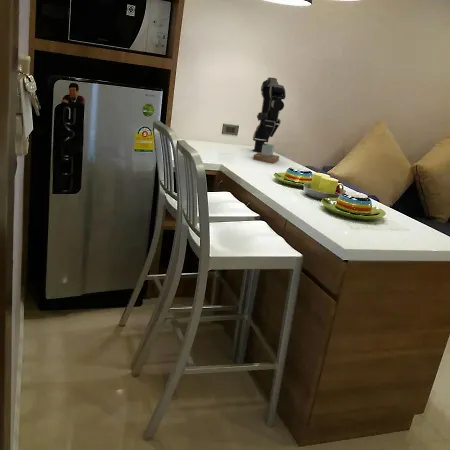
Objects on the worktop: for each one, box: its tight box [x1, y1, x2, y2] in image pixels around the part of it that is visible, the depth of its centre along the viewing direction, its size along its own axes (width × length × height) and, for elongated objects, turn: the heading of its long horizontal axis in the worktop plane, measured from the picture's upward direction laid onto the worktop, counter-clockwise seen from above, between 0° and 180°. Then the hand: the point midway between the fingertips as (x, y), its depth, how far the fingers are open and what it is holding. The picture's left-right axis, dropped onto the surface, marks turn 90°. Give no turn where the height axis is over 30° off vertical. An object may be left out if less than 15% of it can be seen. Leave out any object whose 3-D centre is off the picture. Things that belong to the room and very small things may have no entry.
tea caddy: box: [260, 143, 275, 157], centre depth 286 cm, size 6×6×6 cm
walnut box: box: [252, 152, 280, 164], centre depth 287 cm, size 12×12×3 cm
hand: (269, 137), depth 284 cm, fingers open, 9 cm apart
